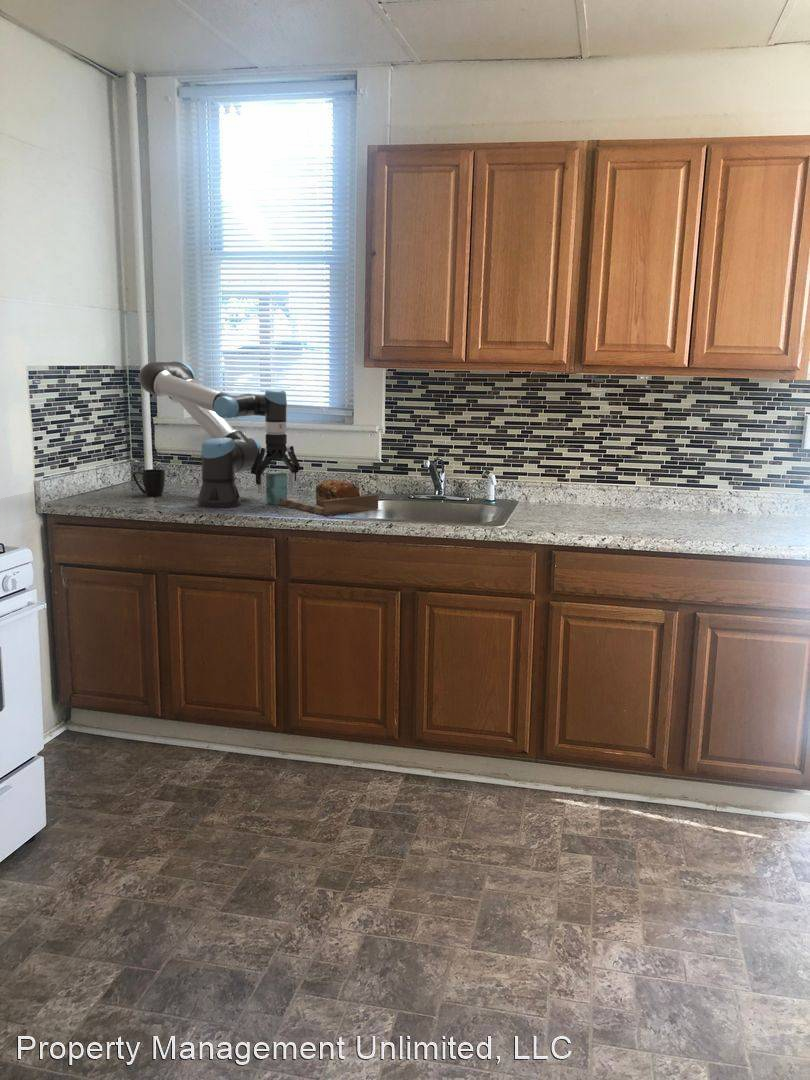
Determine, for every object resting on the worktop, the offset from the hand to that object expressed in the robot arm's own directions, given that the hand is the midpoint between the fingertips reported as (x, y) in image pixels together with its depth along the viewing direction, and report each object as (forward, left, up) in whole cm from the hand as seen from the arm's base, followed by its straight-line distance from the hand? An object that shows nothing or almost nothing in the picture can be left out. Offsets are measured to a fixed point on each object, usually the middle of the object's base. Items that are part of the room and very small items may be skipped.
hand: (276, 491), depth 333 cm
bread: (+19, +13, -5) cm, 24 cm away
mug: (-42, -29, -4) cm, 51 cm away
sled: (+14, +10, -4) cm, 18 cm away
